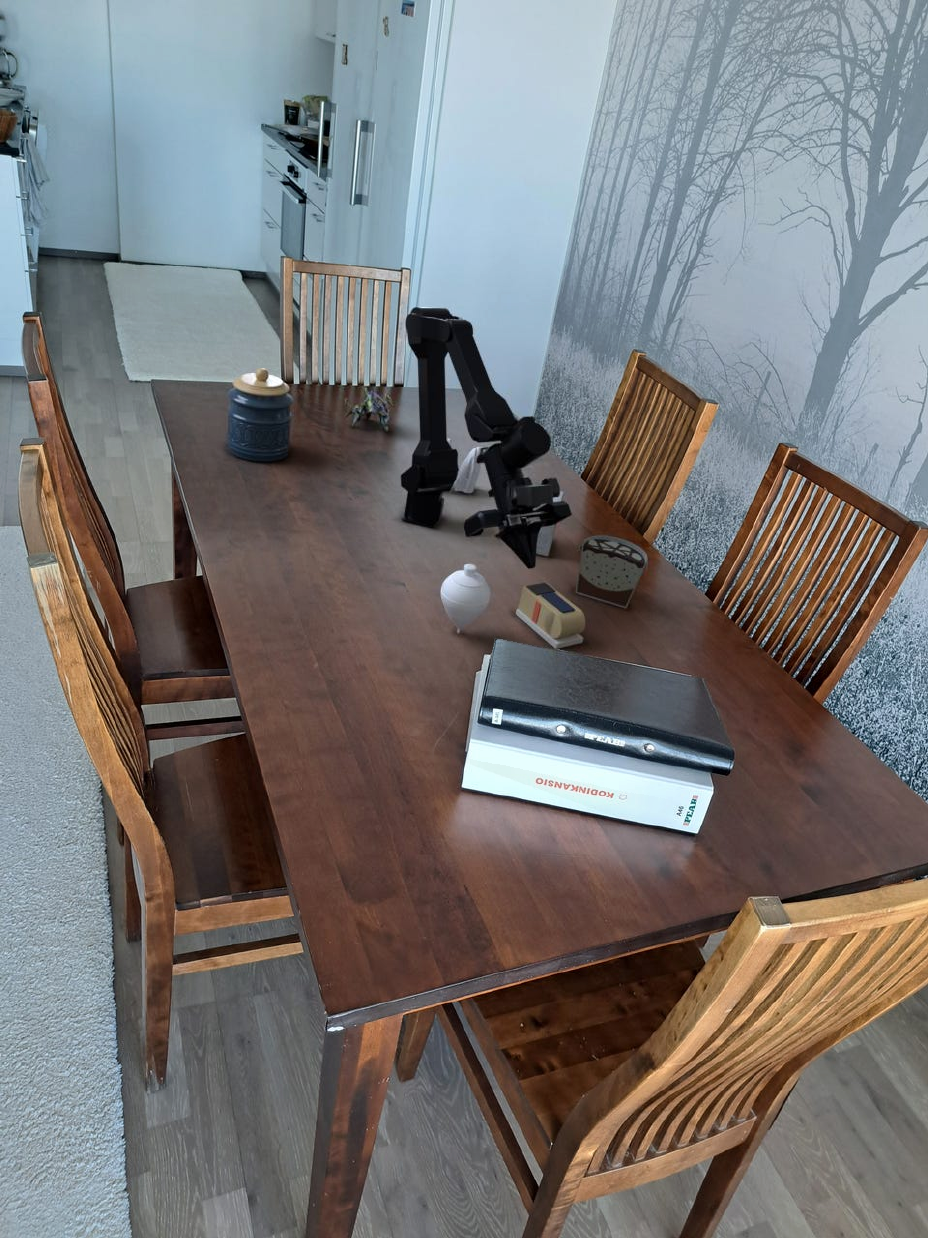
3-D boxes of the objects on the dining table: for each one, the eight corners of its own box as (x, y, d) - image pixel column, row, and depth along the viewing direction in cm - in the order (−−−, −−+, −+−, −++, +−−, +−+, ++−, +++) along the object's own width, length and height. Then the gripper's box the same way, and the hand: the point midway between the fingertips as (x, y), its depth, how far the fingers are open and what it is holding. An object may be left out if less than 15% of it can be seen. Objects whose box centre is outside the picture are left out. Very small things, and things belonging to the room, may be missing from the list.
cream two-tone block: (521, 585, 147) (563, 619, 140) (548, 580, 150) (590, 614, 143) (515, 614, 150) (555, 649, 143) (541, 608, 153) (582, 643, 146)
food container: (640, 596, 163) (655, 547, 158) (634, 611, 158) (650, 561, 153) (574, 576, 165) (587, 527, 160) (567, 590, 160) (580, 540, 155)
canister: (301, 454, 193) (308, 372, 184) (259, 468, 183) (263, 382, 174) (256, 434, 198) (260, 354, 189) (212, 447, 188) (215, 363, 179)
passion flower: (381, 451, 217) (400, 424, 207) (337, 441, 212) (355, 412, 202) (380, 413, 221) (399, 384, 212) (338, 402, 217) (355, 372, 207)
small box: (548, 557, 170) (560, 507, 165) (519, 550, 171) (530, 500, 165) (552, 540, 177) (564, 491, 172) (525, 534, 178) (536, 484, 172)
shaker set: (422, 492, 187) (430, 441, 181) (418, 483, 190) (426, 433, 184) (478, 495, 190) (487, 445, 185) (473, 487, 194) (482, 438, 188)
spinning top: (447, 649, 137) (459, 580, 131) (425, 623, 143) (436, 556, 137) (490, 642, 141) (504, 575, 135) (468, 617, 146) (480, 552, 140)
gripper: (486, 464, 139) (513, 561, 137) (578, 456, 149) (604, 546, 147) (450, 490, 148) (476, 580, 146) (539, 480, 158) (564, 565, 156)
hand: (532, 567), depth 149 cm, fingers closed
